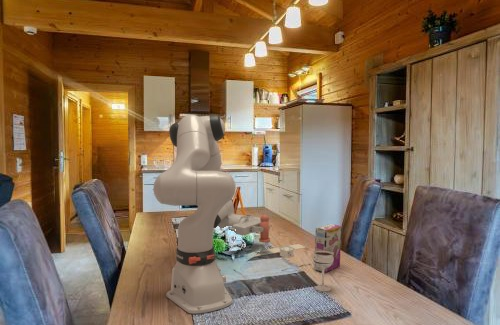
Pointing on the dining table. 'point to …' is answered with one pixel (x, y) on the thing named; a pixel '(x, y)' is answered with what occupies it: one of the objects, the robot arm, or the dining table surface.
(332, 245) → the candy bar box
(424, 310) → the dining table surface
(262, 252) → the track board
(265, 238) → the pawn
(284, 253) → the die
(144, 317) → the dining table surface
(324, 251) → the wineglass
